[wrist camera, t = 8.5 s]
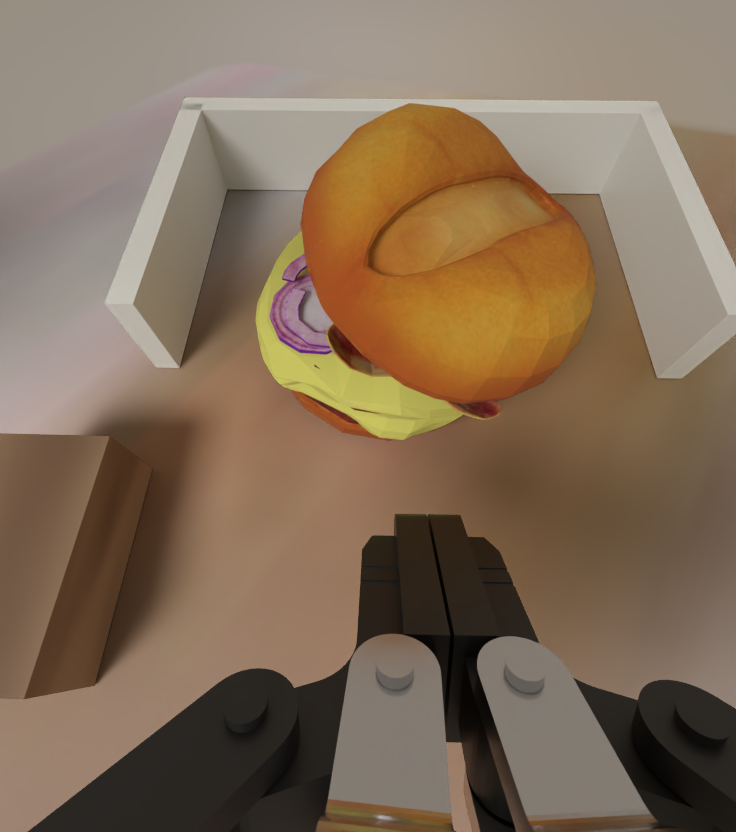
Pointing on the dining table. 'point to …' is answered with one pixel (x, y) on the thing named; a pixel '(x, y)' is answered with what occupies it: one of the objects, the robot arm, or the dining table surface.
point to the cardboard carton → (62, 555)
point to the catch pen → (523, 138)
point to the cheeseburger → (423, 280)
